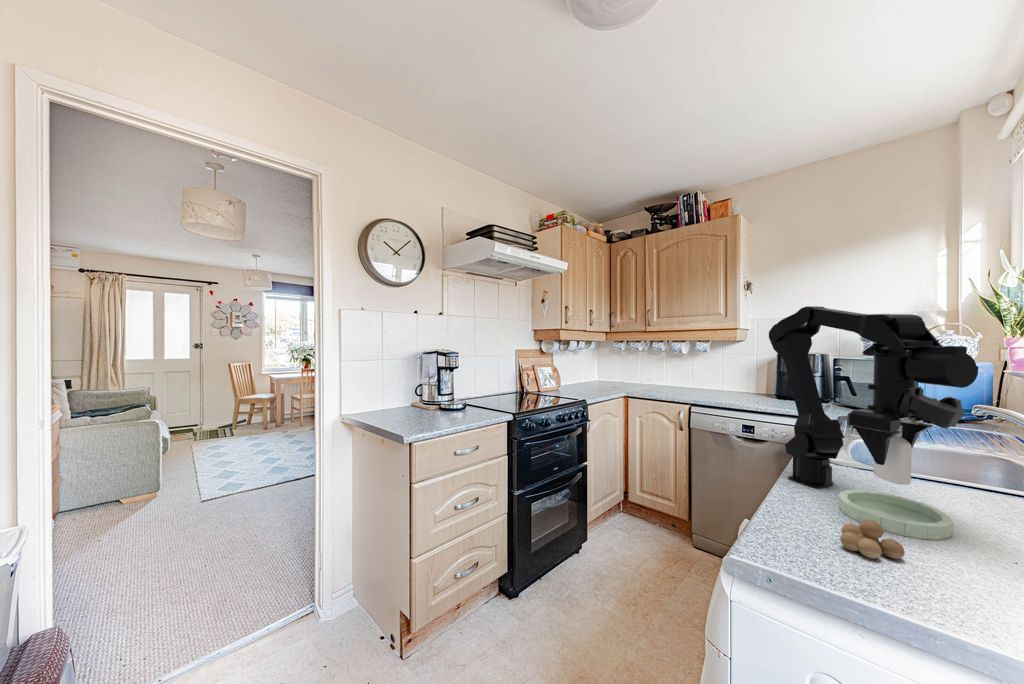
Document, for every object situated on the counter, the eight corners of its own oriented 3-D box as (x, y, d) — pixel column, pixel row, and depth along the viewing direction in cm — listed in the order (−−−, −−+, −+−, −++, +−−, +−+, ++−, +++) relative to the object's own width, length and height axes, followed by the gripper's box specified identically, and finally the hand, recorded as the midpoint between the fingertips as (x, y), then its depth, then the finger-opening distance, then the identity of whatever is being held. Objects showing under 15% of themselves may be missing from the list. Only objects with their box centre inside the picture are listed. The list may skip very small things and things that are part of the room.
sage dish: (822, 508, 75) (823, 497, 75) (863, 496, 81) (864, 485, 81) (927, 547, 62) (928, 533, 62) (968, 529, 68) (968, 516, 68)
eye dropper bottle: (902, 477, 73) (904, 416, 72) (913, 487, 68) (915, 421, 68) (871, 472, 75) (873, 413, 75) (880, 482, 70) (882, 418, 70)
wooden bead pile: (825, 542, 63) (826, 513, 63) (847, 535, 66) (847, 507, 65) (887, 569, 56) (888, 537, 56) (908, 560, 58) (909, 528, 58)
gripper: (931, 388, 60) (928, 484, 60) (980, 383, 67) (977, 469, 68) (846, 380, 70) (844, 462, 71) (897, 376, 78) (895, 451, 78)
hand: (892, 461), depth 71 cm, fingers closed on eye dropper bottle, 8 cm apart
